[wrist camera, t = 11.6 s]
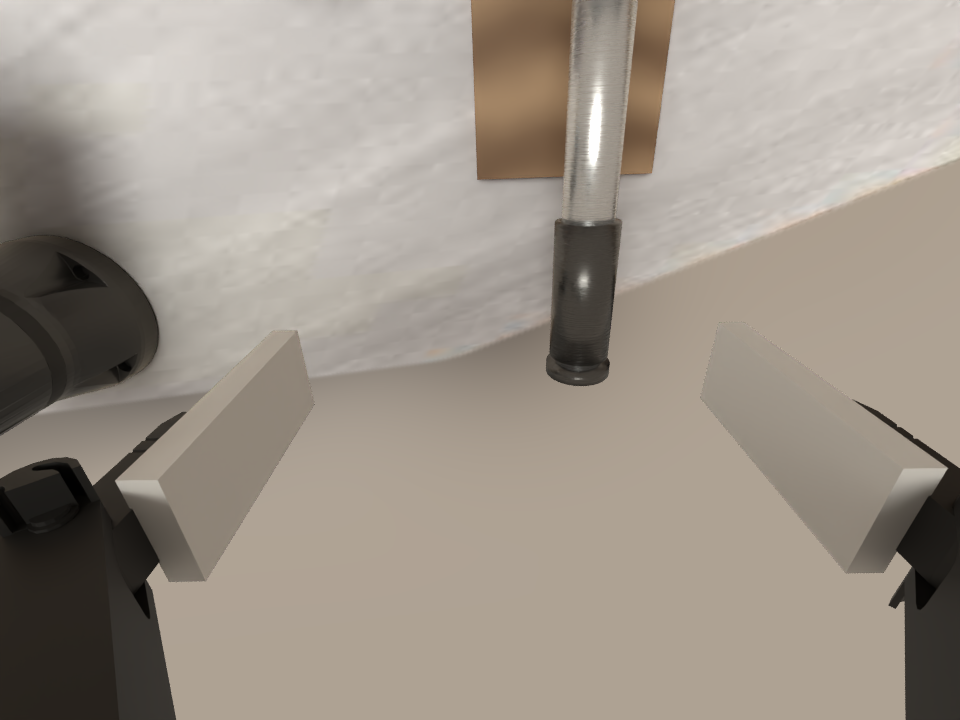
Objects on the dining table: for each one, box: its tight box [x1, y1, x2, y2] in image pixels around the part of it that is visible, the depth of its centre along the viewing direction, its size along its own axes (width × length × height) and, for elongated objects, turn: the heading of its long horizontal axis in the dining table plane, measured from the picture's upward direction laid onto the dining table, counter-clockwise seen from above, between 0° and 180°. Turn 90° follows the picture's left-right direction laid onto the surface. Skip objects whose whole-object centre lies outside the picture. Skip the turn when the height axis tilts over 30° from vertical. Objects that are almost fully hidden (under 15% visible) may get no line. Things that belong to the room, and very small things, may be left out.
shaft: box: [546, 0, 638, 386], centre depth 25 cm, size 28×4×4 cm, turn 2°
